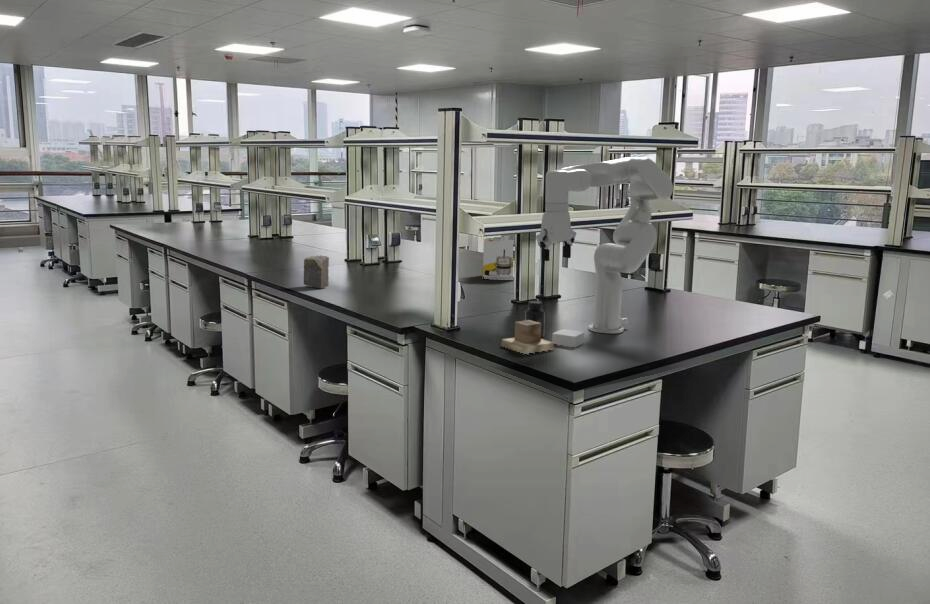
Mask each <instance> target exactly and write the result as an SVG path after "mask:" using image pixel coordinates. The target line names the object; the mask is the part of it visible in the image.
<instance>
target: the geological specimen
mask: <svg viewBox="0 0 930 604" xmlns="http://www.w3.org/2000/svg"><path fill="white" fill-rule="evenodd" d="M329 261H330V258H329V256H324V255H312V256H308V257H305V258H304V259H303V285H305V286H309V287H312V288H315V289H325V288H327V287H328V286H329V278H330V277H329V267H330V266H329V265H330V264H329Z"/></svg>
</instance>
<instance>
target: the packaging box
mask: <svg viewBox="0 0 930 604" xmlns="http://www.w3.org/2000/svg"><path fill="white" fill-rule="evenodd" d="M513 244H514V236H504V237H494V238H486V239H484V238H483V251H482V252H483V253H482V255H483V256H482V261H483V262H482V278H483V277H513Z"/></svg>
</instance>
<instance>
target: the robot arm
mask: <svg viewBox="0 0 930 604" xmlns="http://www.w3.org/2000/svg"><path fill="white" fill-rule="evenodd" d="M629 182H630V183H629ZM624 183H629V185H628V186H629V187H628V192H629V199H630V203H629V204H630V206H629V208H628V211H627V212H626V213H625V215H624V216H623V217H622V219H621V220H620V222H619V224H617V226H616V228H615V229H614V232H613V235H612V239H613V242H614V243H612V242H611V243H610V242H606V243H601V244H600V245H598V246H597V248H595V250H594V254H593V263H594V270H595V285H594V298H593V299H594V301H593V319H592V323H591V324H589V325H588V330H589V331H591V332H595V333H599V334H609V335H610V334H611V335H612V334H613V335H614V334H621V333H623V332H624V331H625V329H624V327H623V326H622V325H623V324H628V323H629V319H628V318H627V317H621V308H622V307H621V306H622V294H623V278H622V275H621V273H623V274H624V273H625V274H632V273H634V272H636V271H637V270H638V269H639V268H640V267H641V266H642V264H643V263H644V261H645V260H646V258H648V255H649V254H650V252H651V251H652V250H653V248H654V246H655V244H656V242H657V238H658V237H657V234H658V233H657V229H656V227H655V226H654V225H653V224H651V223H650V221H651V219H652V209H651V205H650V201H659V202H660V201H666V200H668V199H669V198H670V197H671V196H672V194H673V190H674V184H673V182H672V180H671V178H670V177H669V176H668V175H667V173H665V172H664V170H663V169H662V167H660V166H659V165H658V164H657V163H656V162H655V161H654V160H653V159H651V158H649V157H645V156H643V157H641V156H638V157H637V156H629V157H621V158H617V159H611V160H605V161H599V162H593V163H592V162H591V163H586V164H579V165H574V166H573V165H572V166H568V167H562V168H559V169H553V170H552V169H551V170H548V171H546V173H545V204H544V205H545V206H544V207H545V212H543V214H542V218H541V224H540V225H541V226H540V233H539V234H537V235H536V236H535V239H536V242H537V245H538V246H539V248H540V249H541V261H543V262H549V261H550V249H549V247H550V246H551V244H554V243H555V244H556V243H563V246H562V258H566V259H571V258H572V256H571V255H572V253H571V251H572V246H573V243H574V242H575V239H576V236H577V232H576V231H574V230H573V229H572V226H571V225H572V224H571V216H570V215H571V214H570V212H569V208H570V204H569V192H575V193H578V192H580V193H582V192H585V191H587V190H588V189H589V188H590V187H591V188H592V187H593V188H595V187H596V188H601V187H602V188H603V187H604V188H605V187H610V186H614V185H619V184H624Z"/></svg>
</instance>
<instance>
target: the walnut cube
mask: <svg viewBox="0 0 930 604" xmlns="http://www.w3.org/2000/svg"><path fill="white" fill-rule="evenodd" d="M514 337H515V340H516V341H519V342H522V343H525V344H529V343H535V342H540V341H541V339H542V337H541V323H539V322H535V321H532V320H525V319H524V320H518V321H514Z"/></svg>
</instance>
